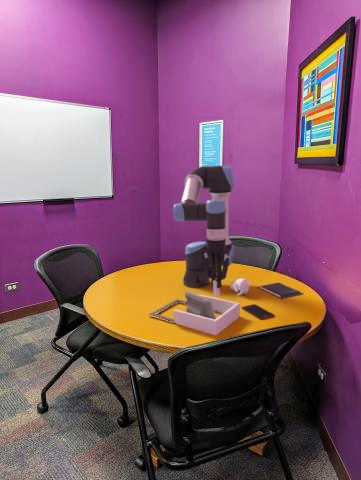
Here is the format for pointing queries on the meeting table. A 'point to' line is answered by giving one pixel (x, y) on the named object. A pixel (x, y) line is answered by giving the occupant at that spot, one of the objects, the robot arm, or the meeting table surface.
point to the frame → (165, 307)
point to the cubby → (206, 324)
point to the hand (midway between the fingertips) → (216, 294)
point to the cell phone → (258, 312)
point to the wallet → (280, 290)
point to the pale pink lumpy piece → (240, 286)
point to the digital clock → (199, 306)
